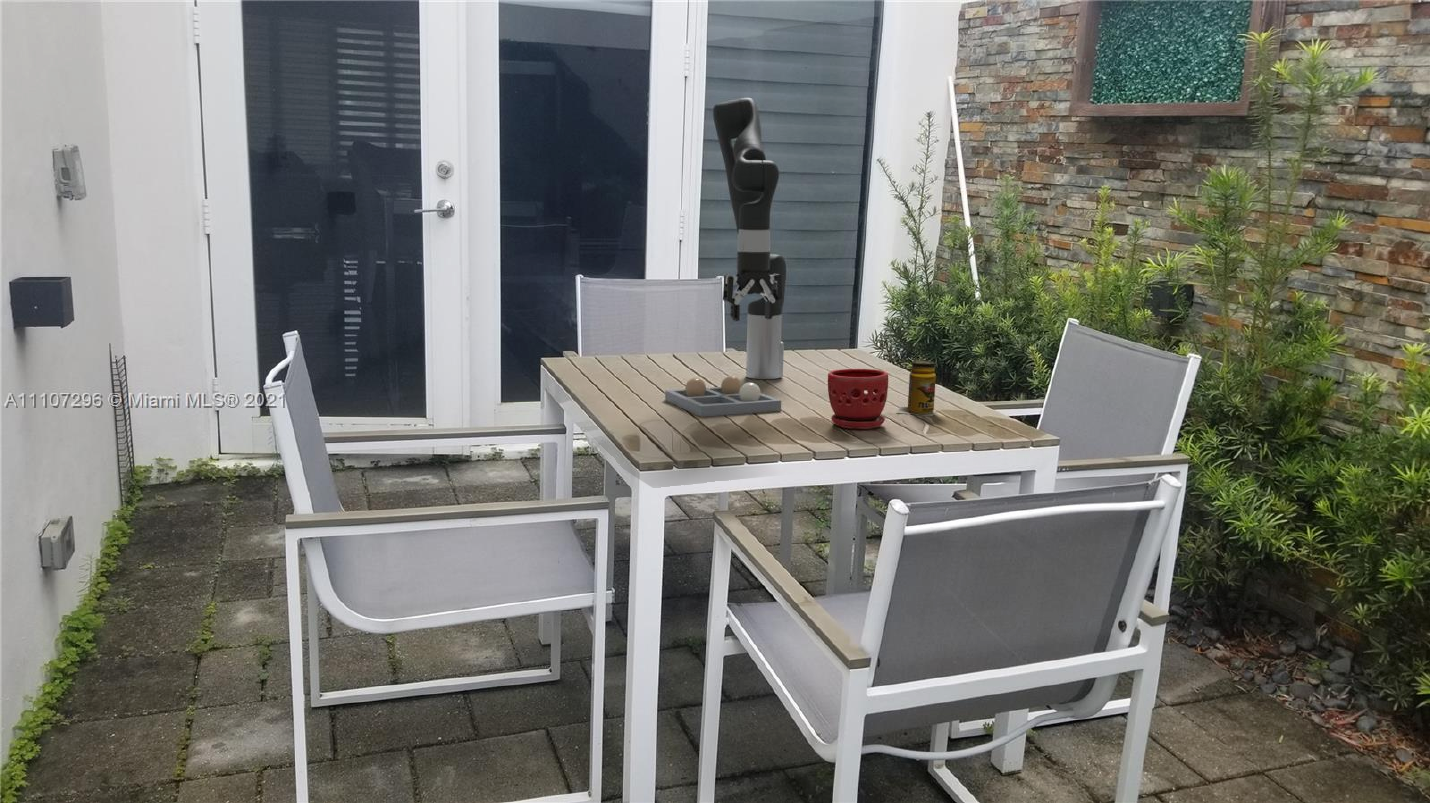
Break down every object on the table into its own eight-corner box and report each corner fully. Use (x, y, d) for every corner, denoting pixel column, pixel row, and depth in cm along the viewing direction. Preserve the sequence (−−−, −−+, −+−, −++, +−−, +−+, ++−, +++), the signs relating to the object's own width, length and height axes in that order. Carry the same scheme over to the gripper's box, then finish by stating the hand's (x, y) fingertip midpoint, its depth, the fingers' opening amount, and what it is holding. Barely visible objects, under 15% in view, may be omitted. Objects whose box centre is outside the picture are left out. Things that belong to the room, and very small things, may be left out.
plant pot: (875, 419, 252) (877, 366, 250) (894, 431, 240) (897, 376, 237) (819, 419, 250) (821, 367, 248) (835, 432, 237) (837, 377, 235)
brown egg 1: (700, 396, 269) (700, 375, 268) (709, 400, 265) (709, 379, 264) (681, 397, 267) (681, 377, 266) (690, 401, 262) (690, 380, 261)
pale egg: (753, 400, 265) (754, 380, 264) (763, 405, 260) (764, 383, 259) (735, 402, 262) (735, 381, 261) (744, 406, 258) (745, 385, 257)
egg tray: (740, 395, 277) (741, 385, 277) (781, 410, 259) (781, 400, 259) (664, 400, 268) (665, 390, 268) (701, 416, 250) (701, 406, 250)
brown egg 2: (735, 394, 273) (736, 373, 272) (745, 397, 269) (745, 377, 268) (717, 395, 271) (717, 374, 270) (726, 398, 266) (726, 378, 266)
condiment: (933, 416, 257) (936, 365, 255) (896, 413, 259) (899, 362, 257) (936, 410, 264) (939, 360, 261) (900, 407, 266) (903, 358, 264)
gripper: (772, 247, 262) (771, 316, 265) (718, 248, 256) (717, 319, 259) (788, 250, 256) (786, 320, 259) (733, 251, 249) (732, 323, 253)
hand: (752, 319), depth 259 cm, fingers open, 8 cm apart
